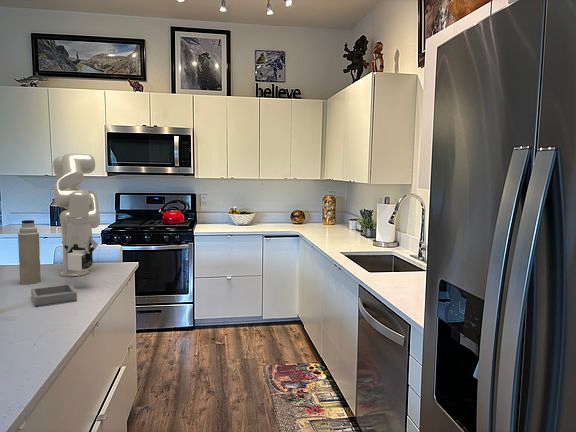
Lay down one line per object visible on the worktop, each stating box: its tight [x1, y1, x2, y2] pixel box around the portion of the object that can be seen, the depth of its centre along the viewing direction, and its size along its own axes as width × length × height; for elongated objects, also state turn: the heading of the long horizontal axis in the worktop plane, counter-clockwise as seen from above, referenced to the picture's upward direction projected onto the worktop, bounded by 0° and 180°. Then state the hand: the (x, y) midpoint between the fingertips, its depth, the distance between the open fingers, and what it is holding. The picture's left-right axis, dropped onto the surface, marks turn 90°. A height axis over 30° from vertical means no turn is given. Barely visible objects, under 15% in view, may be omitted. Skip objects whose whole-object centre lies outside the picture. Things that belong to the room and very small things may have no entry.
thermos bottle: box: [17, 219, 42, 285], centre depth 187 cm, size 8×8×28 cm
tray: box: [30, 283, 78, 308], centre depth 165 cm, size 14×14×4 cm
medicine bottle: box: [67, 244, 94, 271], centre depth 181 cm, size 7×7×12 cm
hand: (80, 260), depth 181 cm, fingers closed on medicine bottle, 7 cm apart
